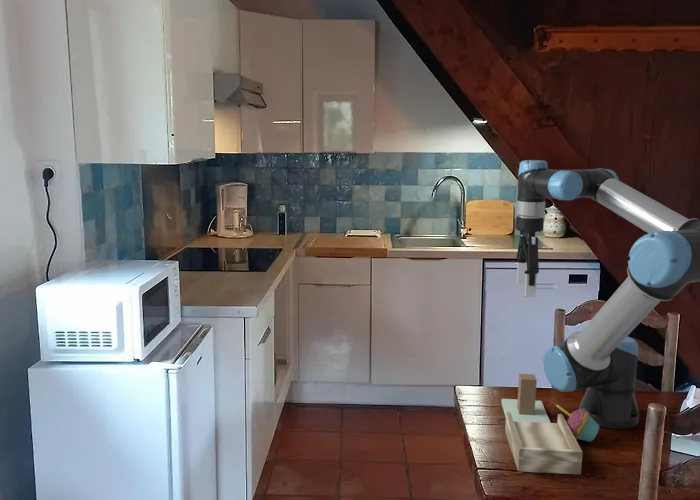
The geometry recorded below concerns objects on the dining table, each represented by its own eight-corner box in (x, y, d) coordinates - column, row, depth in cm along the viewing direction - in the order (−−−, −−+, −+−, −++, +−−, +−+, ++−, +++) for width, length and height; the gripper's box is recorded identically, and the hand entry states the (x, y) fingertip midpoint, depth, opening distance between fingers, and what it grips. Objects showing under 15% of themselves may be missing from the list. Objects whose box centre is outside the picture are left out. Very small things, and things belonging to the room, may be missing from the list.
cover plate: (540, 405, 188) (543, 367, 186) (551, 431, 173) (554, 389, 171) (501, 403, 190) (503, 365, 187) (508, 428, 174) (510, 387, 172)
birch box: (560, 434, 170) (562, 414, 169) (580, 474, 151) (582, 452, 150) (505, 431, 171) (506, 411, 170) (518, 471, 152) (519, 449, 151)
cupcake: (604, 412, 167) (560, 388, 170) (602, 432, 160) (557, 406, 162) (586, 435, 171) (544, 411, 174) (584, 455, 164) (539, 429, 166)
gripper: (509, 210, 197) (505, 280, 201) (524, 222, 173) (519, 301, 176) (535, 210, 196) (530, 280, 200) (553, 223, 172) (548, 302, 176)
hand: (525, 290), depth 188 cm, fingers open, 13 cm apart
